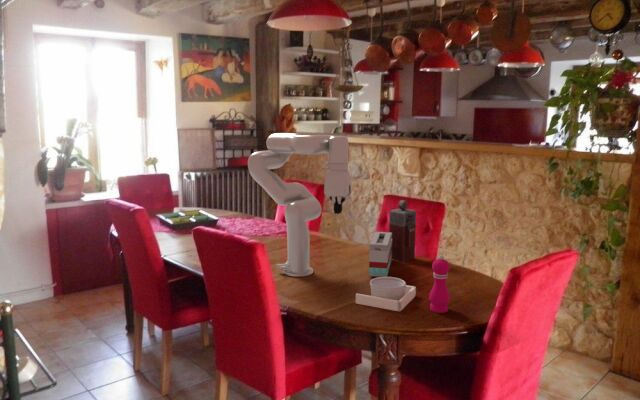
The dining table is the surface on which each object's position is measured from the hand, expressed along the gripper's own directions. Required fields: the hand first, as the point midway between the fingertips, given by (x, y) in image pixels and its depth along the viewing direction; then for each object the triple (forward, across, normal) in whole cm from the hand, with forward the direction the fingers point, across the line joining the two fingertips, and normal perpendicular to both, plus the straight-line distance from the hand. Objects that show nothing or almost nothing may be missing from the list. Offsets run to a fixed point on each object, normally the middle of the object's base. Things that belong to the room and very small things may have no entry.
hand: (337, 213), depth 208 cm
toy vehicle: (+29, +9, +26) cm, 40 cm away
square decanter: (+29, +13, +46) cm, 56 cm away
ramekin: (+29, +25, -8) cm, 39 cm away
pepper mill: (+29, +44, -9) cm, 54 cm away
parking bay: (+29, +24, -8) cm, 39 cm away
